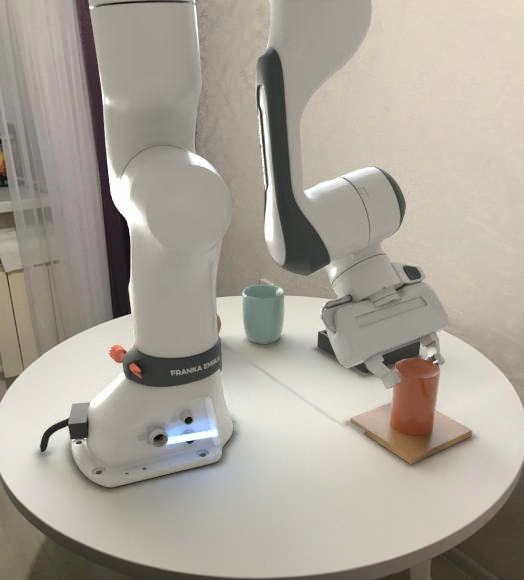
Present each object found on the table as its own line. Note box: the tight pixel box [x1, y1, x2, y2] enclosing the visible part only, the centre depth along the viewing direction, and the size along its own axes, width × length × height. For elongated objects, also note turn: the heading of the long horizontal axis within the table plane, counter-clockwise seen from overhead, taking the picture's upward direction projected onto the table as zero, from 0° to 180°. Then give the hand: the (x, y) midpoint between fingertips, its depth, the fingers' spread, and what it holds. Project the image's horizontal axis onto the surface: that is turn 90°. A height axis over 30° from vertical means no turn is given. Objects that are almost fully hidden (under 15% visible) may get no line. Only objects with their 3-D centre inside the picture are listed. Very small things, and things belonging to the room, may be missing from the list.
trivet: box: [350, 401, 473, 465], centre depth 84 cm, size 12×12×1 cm
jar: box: [390, 357, 441, 435], centre depth 82 cm, size 6×6×9 cm
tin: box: [317, 329, 421, 374], centre depth 107 cm, size 13×13×4 cm
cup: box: [241, 284, 285, 345], centre depth 111 cm, size 8×8×10 cm
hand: (417, 376), depth 80 cm, fingers open, 8 cm apart
